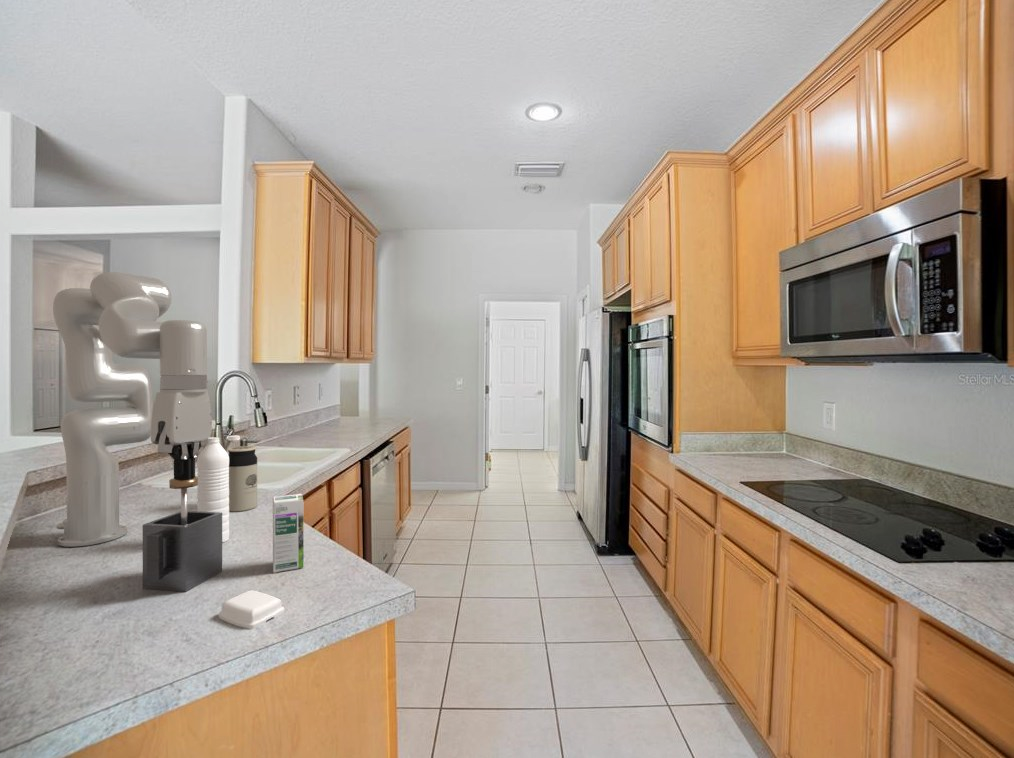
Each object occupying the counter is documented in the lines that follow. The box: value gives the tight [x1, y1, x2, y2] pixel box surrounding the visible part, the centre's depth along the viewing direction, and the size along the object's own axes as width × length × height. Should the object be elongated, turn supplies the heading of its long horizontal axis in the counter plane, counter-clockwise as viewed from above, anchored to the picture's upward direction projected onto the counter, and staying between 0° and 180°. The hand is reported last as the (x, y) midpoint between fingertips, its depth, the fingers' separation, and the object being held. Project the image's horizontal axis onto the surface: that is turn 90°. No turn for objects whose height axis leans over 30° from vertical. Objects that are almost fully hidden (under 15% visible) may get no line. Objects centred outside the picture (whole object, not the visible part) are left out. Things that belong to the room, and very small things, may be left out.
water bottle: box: [196, 434, 241, 543], centre depth 111 cm, size 9×6×25 cm
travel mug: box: [227, 445, 258, 513], centre depth 138 cm, size 8×8×18 cm
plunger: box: [169, 475, 198, 526], centre depth 90 cm, size 6×6×16 cm
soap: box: [218, 589, 285, 630], centre depth 78 cm, size 9×7×3 cm
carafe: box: [142, 510, 223, 593], centre depth 89 cm, size 9×11×12 cm
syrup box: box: [272, 493, 305, 574], centre depth 97 cm, size 6×6×14 cm
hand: (184, 478), depth 90 cm, fingers closed
